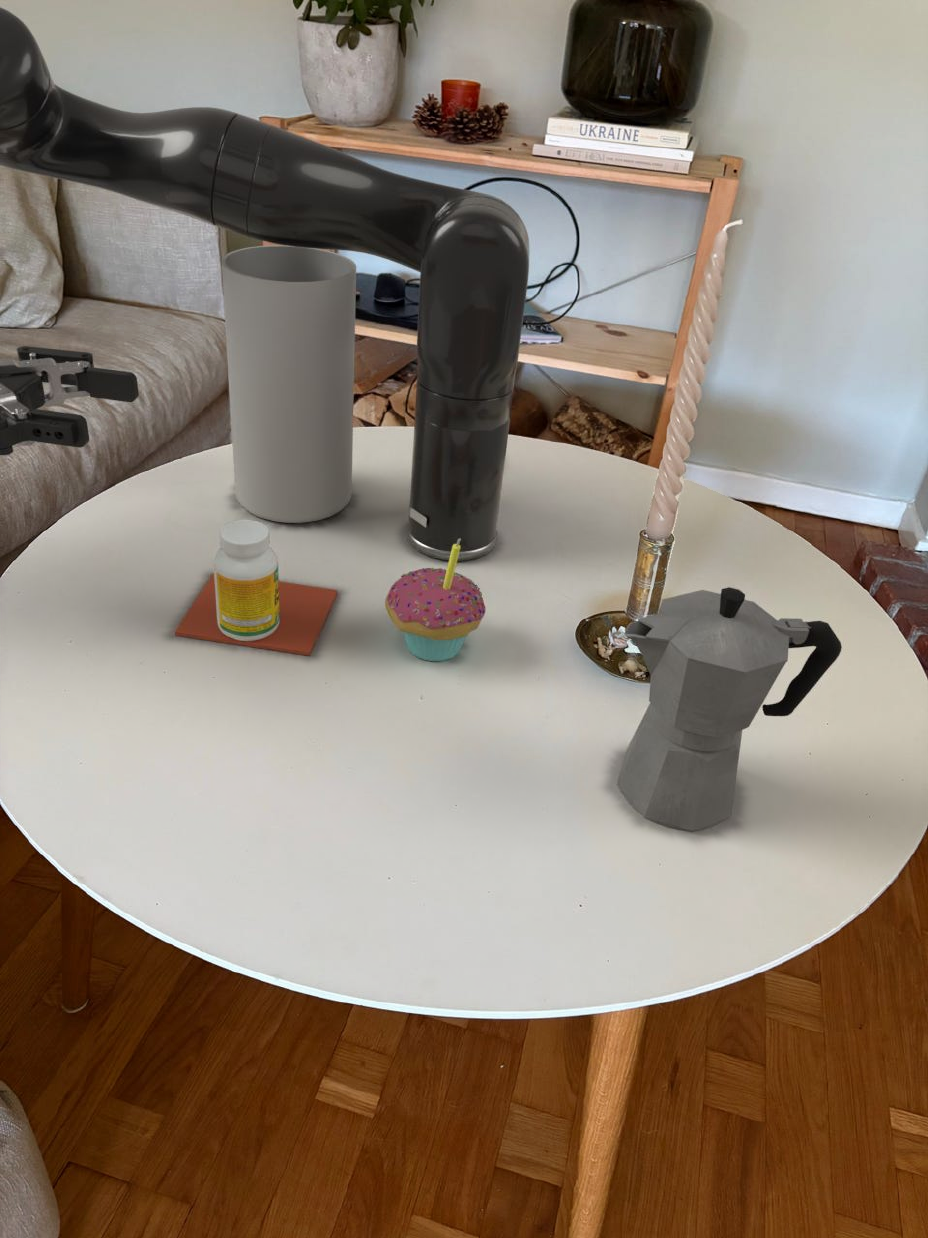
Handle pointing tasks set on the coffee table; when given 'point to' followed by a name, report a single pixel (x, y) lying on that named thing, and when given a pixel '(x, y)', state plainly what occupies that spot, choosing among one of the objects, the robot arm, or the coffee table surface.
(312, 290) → the cylinder vase
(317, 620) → the square tile
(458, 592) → the cupcake
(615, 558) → the coffee table surface
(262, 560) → the supplement bottle
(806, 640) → the coffeepot
